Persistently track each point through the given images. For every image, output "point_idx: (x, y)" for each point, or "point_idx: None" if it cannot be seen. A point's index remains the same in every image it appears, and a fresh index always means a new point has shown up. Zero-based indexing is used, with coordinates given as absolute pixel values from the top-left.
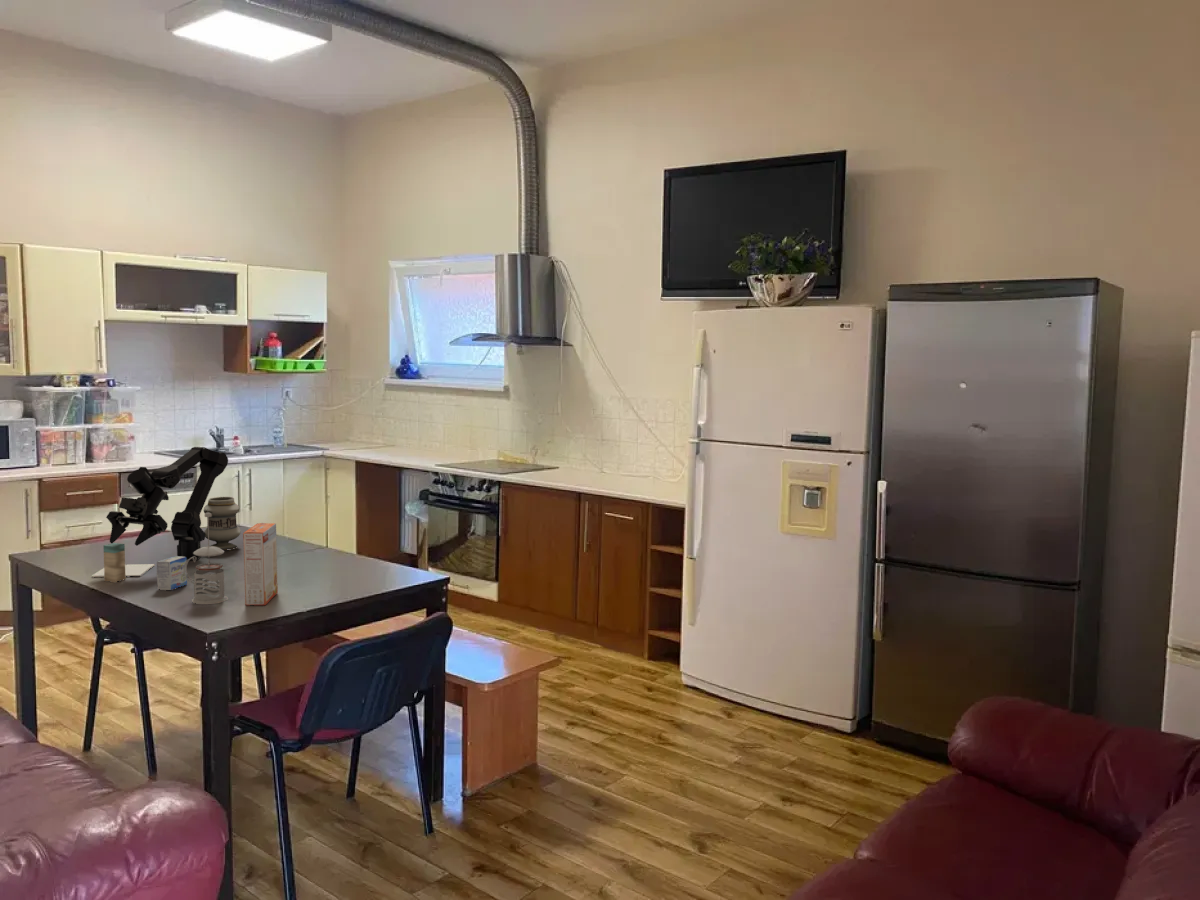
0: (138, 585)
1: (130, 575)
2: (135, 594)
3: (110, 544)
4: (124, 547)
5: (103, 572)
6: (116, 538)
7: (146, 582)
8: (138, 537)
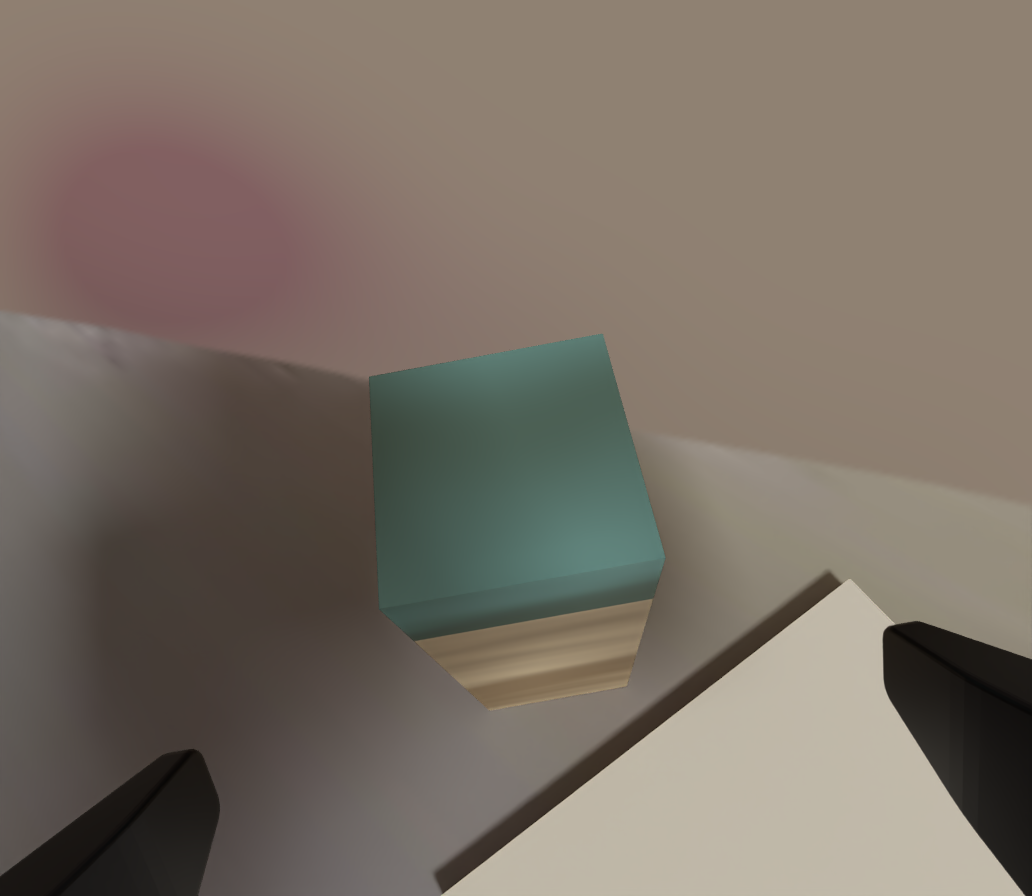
0: (209, 610)
1: (533, 824)
2: (64, 423)
3: (579, 438)
4: (398, 622)
5: (922, 756)
6: (1027, 869)
7: (212, 733)
8: (41, 878)
